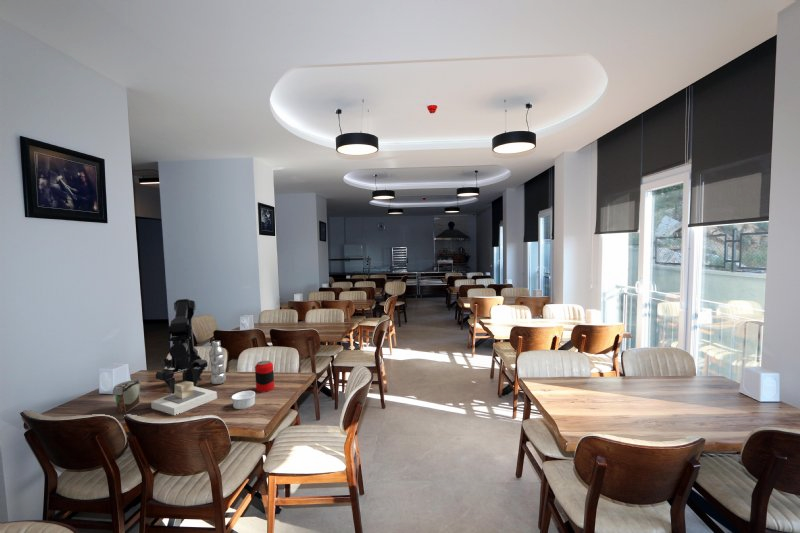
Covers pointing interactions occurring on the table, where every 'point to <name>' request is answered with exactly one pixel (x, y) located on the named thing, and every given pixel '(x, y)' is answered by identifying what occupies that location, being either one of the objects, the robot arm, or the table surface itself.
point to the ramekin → (243, 399)
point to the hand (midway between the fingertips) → (184, 389)
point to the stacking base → (183, 401)
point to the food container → (127, 395)
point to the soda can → (264, 376)
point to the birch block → (184, 389)
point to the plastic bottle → (217, 363)
